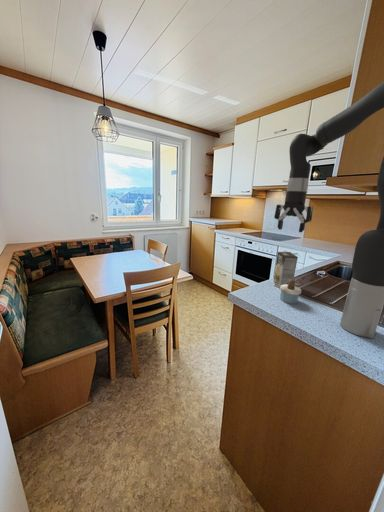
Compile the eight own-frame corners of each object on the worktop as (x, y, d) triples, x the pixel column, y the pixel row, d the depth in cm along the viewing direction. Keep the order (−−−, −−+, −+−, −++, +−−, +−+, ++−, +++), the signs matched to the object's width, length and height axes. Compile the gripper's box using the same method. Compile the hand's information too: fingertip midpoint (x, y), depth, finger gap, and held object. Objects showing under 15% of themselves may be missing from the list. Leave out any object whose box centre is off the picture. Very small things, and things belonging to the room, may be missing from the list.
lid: (304, 291, 88) (306, 281, 87) (296, 296, 83) (298, 285, 82) (285, 285, 94) (286, 275, 92) (276, 289, 88) (278, 279, 87)
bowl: (299, 300, 89) (301, 291, 88) (292, 305, 85) (294, 295, 84) (284, 295, 94) (286, 285, 93) (277, 299, 90) (278, 289, 89)
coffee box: (272, 281, 110) (277, 251, 105) (284, 281, 110) (290, 251, 105) (279, 288, 101) (284, 256, 96) (292, 289, 101) (298, 256, 96)
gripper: (319, 191, 83) (311, 232, 87) (283, 190, 93) (277, 227, 97) (312, 190, 78) (304, 234, 82) (275, 190, 88) (269, 229, 92)
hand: (289, 230), depth 90 cm, fingers open, 8 cm apart
